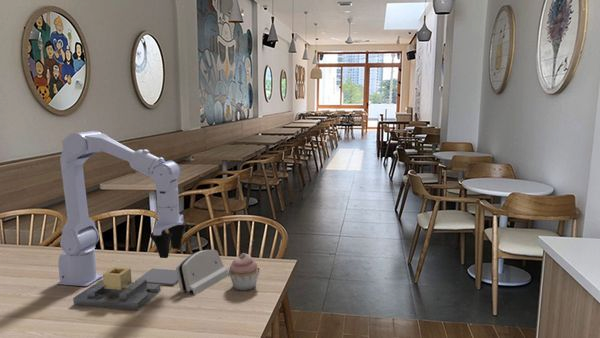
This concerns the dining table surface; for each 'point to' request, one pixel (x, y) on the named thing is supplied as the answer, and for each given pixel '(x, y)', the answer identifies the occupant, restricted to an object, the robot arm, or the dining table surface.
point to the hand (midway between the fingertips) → (170, 252)
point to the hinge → (200, 271)
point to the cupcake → (244, 272)
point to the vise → (118, 296)
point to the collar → (117, 278)
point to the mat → (160, 277)
